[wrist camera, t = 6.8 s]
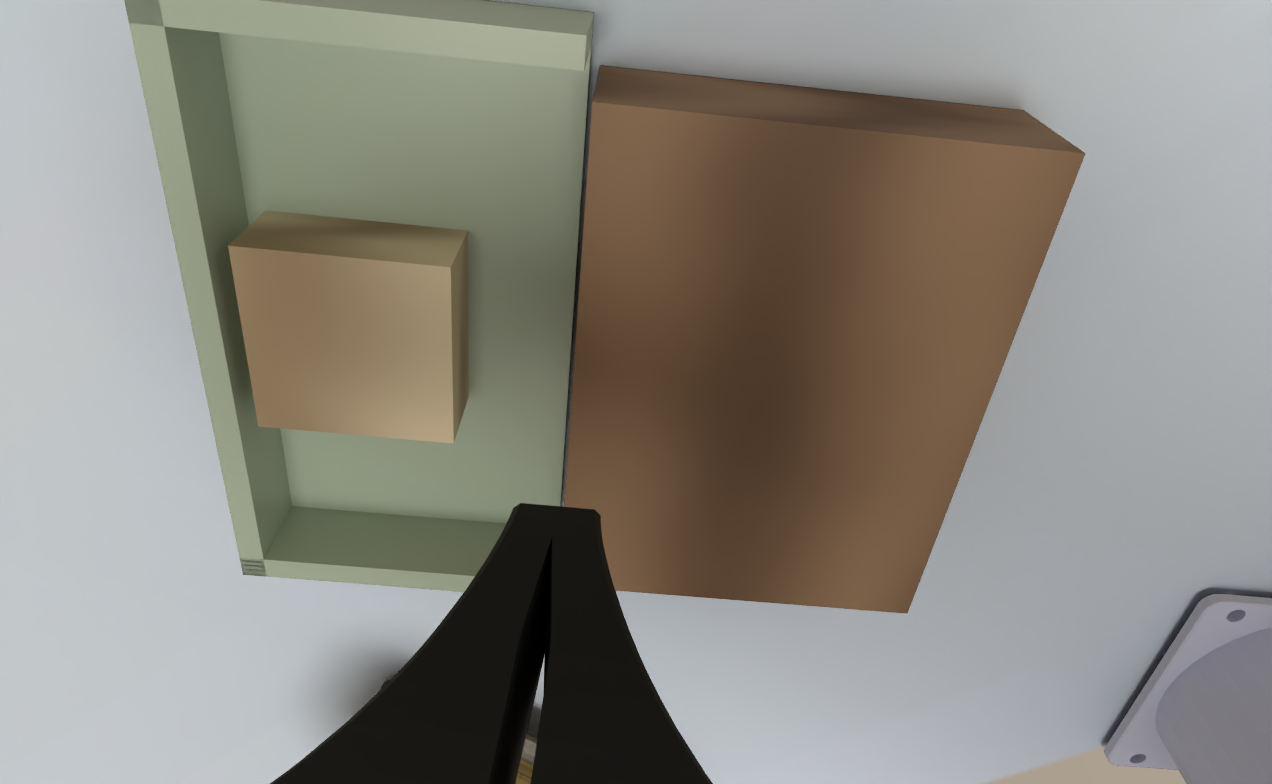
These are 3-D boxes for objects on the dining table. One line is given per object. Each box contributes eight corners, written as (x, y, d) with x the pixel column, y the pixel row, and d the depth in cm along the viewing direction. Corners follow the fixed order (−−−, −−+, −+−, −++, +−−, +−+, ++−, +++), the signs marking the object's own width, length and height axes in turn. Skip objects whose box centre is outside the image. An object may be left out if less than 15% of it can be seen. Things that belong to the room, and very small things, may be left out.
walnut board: (1023, 110, 18) (1085, 153, 15) (880, 534, 24) (907, 613, 22) (600, 65, 18) (592, 101, 15) (567, 508, 24) (558, 585, 22)
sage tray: (593, 11, 17) (586, 35, 15) (558, 534, 25) (550, 598, 22) (187, -33, 17) (121, -15, 15) (278, 511, 24) (243, 574, 22)
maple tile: (227, 245, 17) (265, 210, 19) (258, 426, 20) (289, 380, 21) (450, 267, 17) (467, 230, 19) (453, 443, 20) (468, 397, 22)
